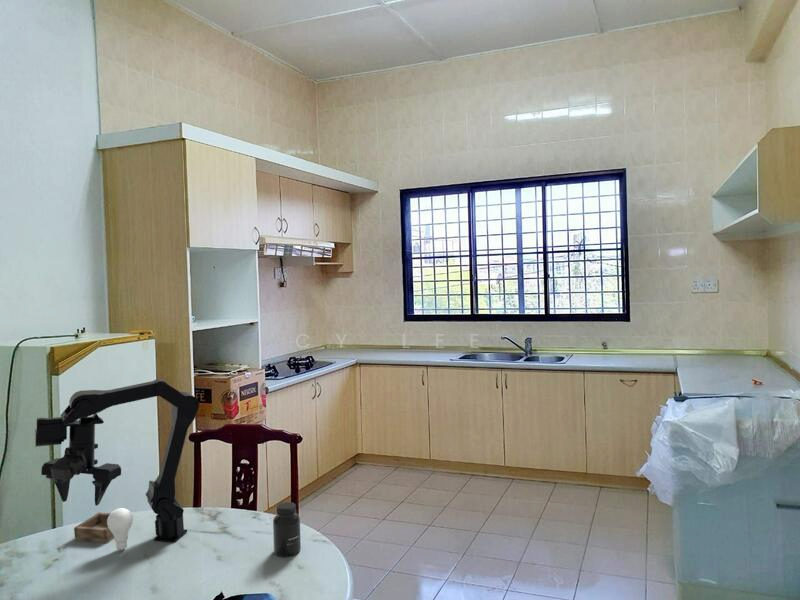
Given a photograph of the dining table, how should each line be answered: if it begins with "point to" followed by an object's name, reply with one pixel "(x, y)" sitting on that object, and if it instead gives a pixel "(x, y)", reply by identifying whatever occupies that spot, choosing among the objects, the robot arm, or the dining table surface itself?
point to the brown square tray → (94, 529)
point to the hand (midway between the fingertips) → (80, 503)
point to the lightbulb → (120, 526)
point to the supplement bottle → (286, 530)
